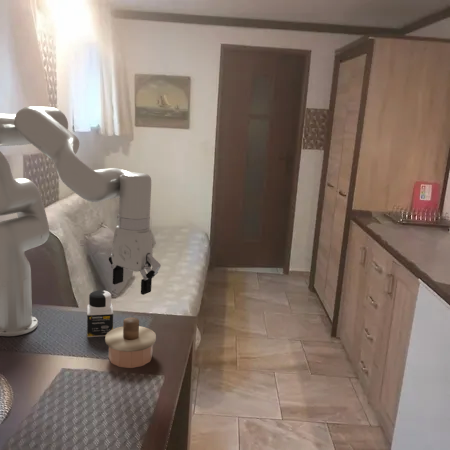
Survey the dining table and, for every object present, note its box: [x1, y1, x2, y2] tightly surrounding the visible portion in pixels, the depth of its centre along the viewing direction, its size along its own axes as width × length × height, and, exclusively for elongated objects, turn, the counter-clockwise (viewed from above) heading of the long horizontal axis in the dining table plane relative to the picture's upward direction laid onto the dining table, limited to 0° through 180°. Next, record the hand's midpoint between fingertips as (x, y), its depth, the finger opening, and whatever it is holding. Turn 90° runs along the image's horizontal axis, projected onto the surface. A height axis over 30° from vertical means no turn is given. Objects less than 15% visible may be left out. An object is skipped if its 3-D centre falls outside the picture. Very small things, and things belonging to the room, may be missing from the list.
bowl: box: [108, 344, 154, 369], centre depth 126 cm, size 11×11×5 cm
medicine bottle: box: [86, 289, 114, 338], centre depth 138 cm, size 7×7×12 cm
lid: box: [104, 317, 157, 352], centre depth 125 cm, size 13×13×5 cm
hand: (131, 287), depth 122 cm, fingers open, 9 cm apart
